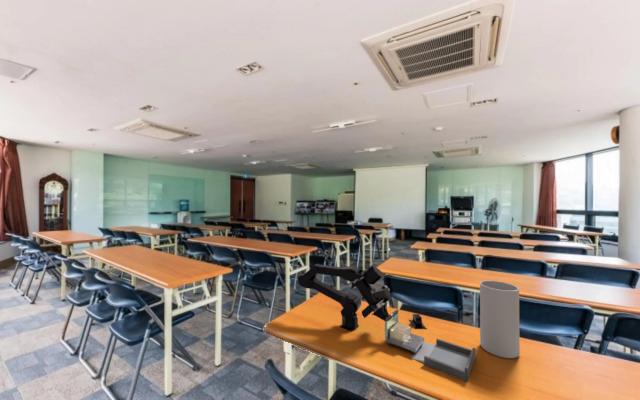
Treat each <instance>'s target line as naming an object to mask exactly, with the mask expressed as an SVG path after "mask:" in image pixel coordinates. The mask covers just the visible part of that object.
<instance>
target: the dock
mask: <svg viewBox="0 0 640 400" xmlns="http://www.w3.org/2000/svg"><path fill="white" fill-rule="evenodd" d="M435 342H436V343H430V342H426V341H424V342H423V345H422V346H420V347H419V349H418V350H417V352H416V354H413V353H412V355H411V357H410V359H412V360H414V361H418V362H420V363H422V364H423V365H424V366H426V367H428V368H431V369H434V370H436V371H438V372H441V373H444V374H447V375H449V376H452V377H453V378H456V379H458V380H461V381H464V382H466V381H467V382H468V381H469V378H470V375H471V372H472V370H473V369H474V368H473V367H474V365H475V362H476V348H475V347H472V348H468V347H464V346H461V345H459V344H456V343H452V342H449V341H446V340H442V339H441V338H436V340H435Z"/></svg>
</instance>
